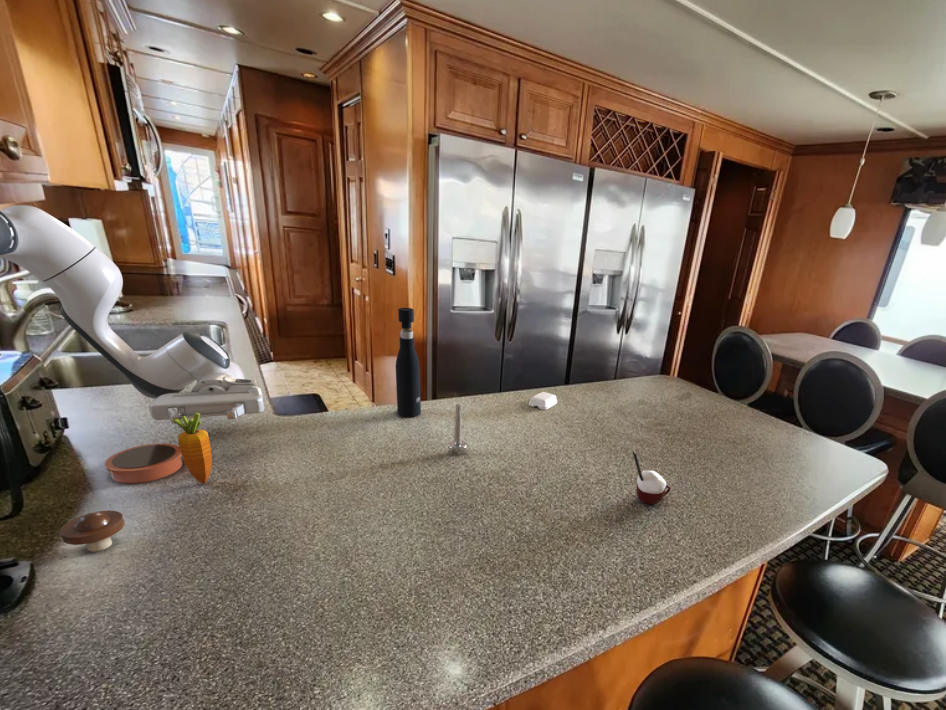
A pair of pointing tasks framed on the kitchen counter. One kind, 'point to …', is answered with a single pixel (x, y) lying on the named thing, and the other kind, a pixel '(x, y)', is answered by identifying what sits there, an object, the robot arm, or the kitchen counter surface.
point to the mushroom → (93, 529)
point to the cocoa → (650, 485)
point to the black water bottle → (407, 369)
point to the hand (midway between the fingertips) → (203, 418)
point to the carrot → (195, 448)
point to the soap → (543, 400)
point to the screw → (457, 434)
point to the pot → (144, 463)
